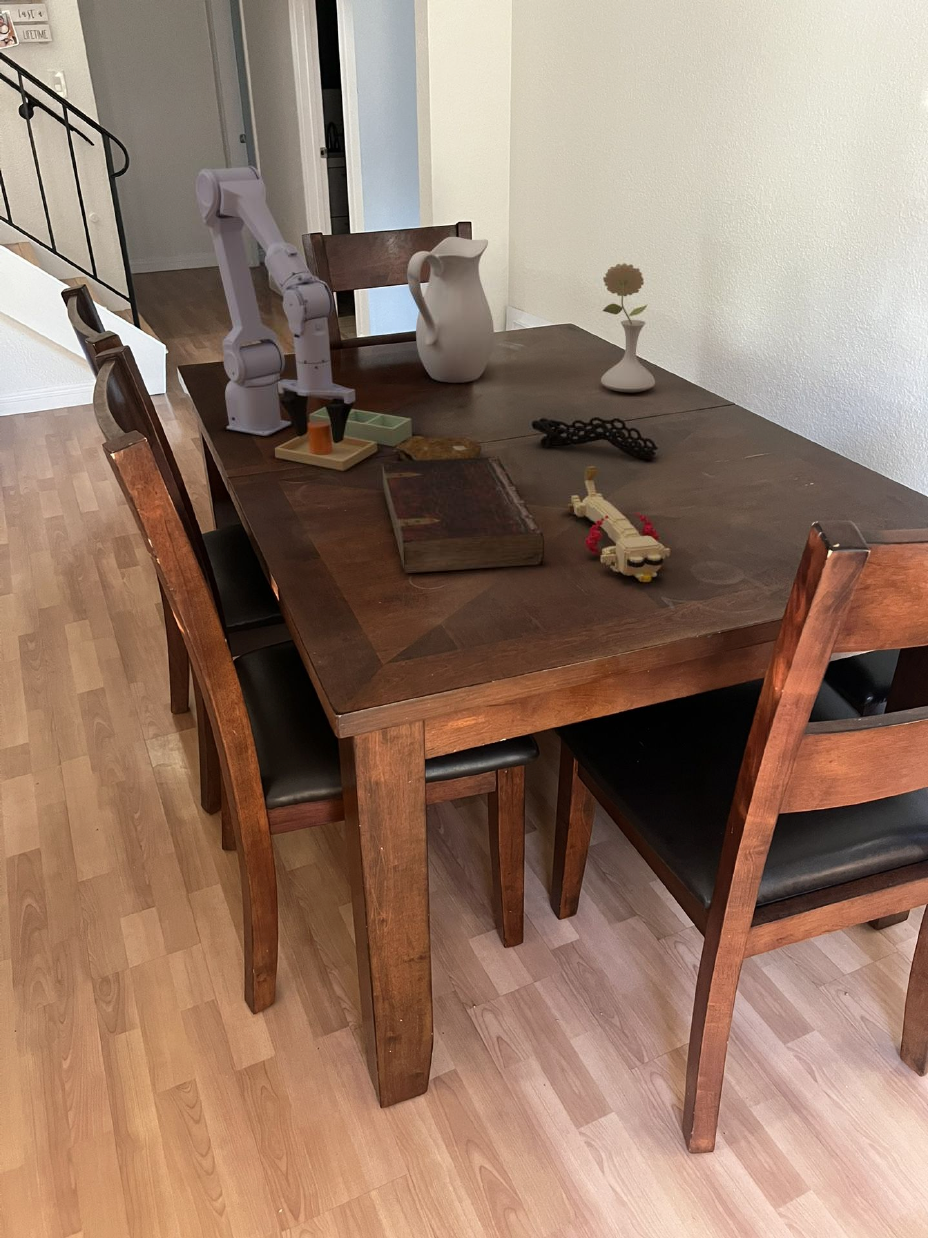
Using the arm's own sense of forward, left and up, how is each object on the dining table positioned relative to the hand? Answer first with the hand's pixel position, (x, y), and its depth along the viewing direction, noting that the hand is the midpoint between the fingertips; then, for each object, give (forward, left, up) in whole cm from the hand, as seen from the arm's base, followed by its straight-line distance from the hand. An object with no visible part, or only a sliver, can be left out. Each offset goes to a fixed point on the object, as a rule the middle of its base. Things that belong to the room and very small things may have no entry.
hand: (320, 438), depth 156 cm
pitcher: (-2, +51, -3) cm, 51 cm away
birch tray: (+1, 0, -3) cm, 3 cm away
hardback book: (+35, -16, -3) cm, 38 cm away
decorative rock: (+20, +5, -3) cm, 21 cm away
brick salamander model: (+58, -12, -3) cm, 59 cm away
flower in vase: (+35, +62, -3) cm, 71 cm away
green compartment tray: (0, +12, -3) cm, 12 cm away
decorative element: (+42, +23, -3) cm, 48 cm away
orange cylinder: (0, 0, -2) cm, 2 cm away
